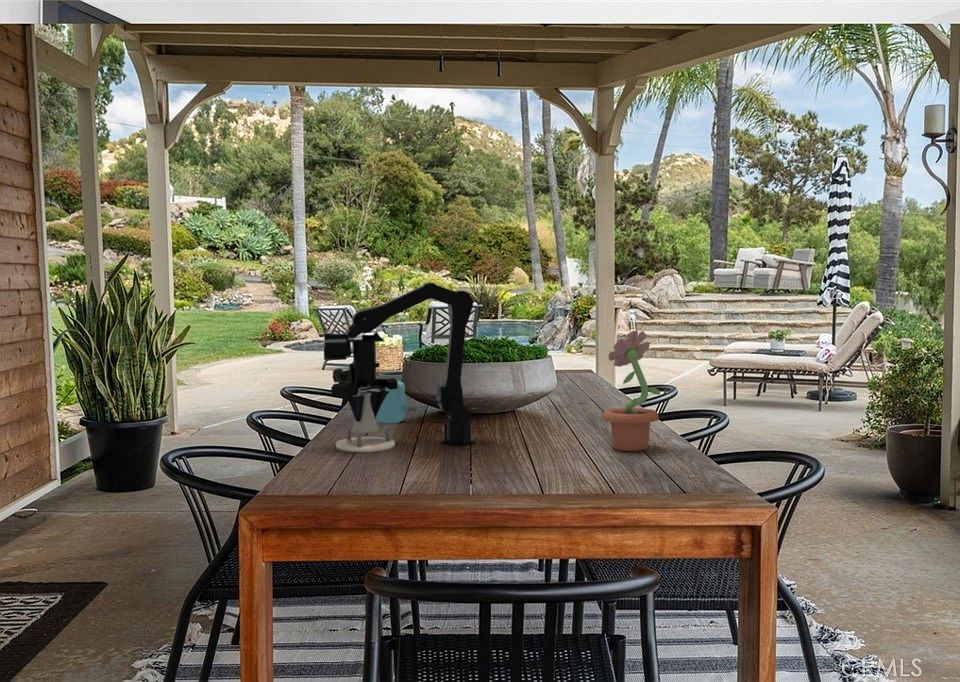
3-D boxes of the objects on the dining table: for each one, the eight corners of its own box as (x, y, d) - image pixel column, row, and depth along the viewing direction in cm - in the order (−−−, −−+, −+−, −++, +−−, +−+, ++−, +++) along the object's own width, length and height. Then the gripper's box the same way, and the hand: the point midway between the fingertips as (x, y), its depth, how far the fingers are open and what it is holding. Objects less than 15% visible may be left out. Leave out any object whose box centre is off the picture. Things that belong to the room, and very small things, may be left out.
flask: (377, 434, 229) (376, 394, 228) (349, 434, 230) (348, 394, 229) (381, 429, 237) (381, 390, 236) (354, 429, 237) (353, 390, 236)
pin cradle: (407, 445, 235) (406, 429, 234) (365, 454, 223) (365, 438, 222) (365, 438, 244) (365, 423, 243) (323, 447, 232) (323, 431, 232)
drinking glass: (415, 408, 296) (415, 371, 295) (405, 413, 286) (405, 375, 285) (385, 407, 298) (385, 370, 297) (375, 412, 288) (374, 374, 287)
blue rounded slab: (405, 421, 271) (405, 381, 270) (401, 423, 267) (400, 383, 266) (367, 419, 274) (366, 380, 273) (362, 422, 269) (361, 382, 268)
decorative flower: (639, 441, 239) (640, 327, 236) (673, 450, 227) (674, 330, 224) (591, 446, 232) (592, 329, 230) (624, 456, 220) (625, 332, 217)
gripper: (367, 354, 244) (368, 412, 245) (315, 360, 229) (316, 422, 230) (398, 356, 237) (399, 416, 238) (346, 363, 222) (347, 426, 224)
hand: (365, 420), depth 233 cm, fingers closed on flask, 5 cm apart
